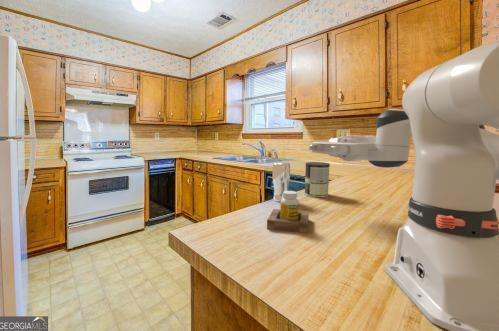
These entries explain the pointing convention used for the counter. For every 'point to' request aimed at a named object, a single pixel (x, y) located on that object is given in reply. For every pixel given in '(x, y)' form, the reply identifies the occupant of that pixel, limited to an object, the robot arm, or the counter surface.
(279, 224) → the bottle holder
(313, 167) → the coffee can
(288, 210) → the supplement bottle
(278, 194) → the beer glass
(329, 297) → the counter surface
